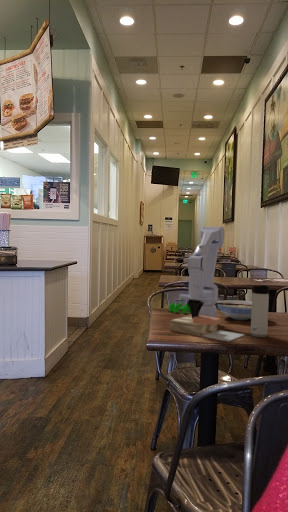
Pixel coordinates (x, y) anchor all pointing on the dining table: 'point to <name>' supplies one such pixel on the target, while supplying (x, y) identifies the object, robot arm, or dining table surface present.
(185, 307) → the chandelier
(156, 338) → the dining table surface
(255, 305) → the travel mug
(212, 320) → the terracotta brown block
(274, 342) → the dining table surface
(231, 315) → the ramen bowl
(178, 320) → the board
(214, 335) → the mat
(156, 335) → the dining table surface
